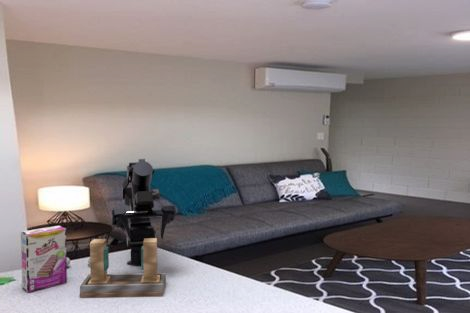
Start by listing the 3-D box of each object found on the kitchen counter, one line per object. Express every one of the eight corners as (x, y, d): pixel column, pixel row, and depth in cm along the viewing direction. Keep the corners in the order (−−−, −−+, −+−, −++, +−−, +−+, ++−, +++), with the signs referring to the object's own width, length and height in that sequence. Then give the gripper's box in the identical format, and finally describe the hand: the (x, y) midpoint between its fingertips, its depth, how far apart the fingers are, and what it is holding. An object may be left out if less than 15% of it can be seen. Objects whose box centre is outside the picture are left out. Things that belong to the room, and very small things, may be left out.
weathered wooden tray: (79, 297, 116) (78, 246, 115) (89, 283, 126) (88, 236, 125) (162, 296, 117) (162, 245, 116) (166, 282, 127) (165, 235, 126)
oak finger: (160, 281, 125) (159, 237, 124) (159, 288, 120) (158, 242, 119) (142, 282, 124) (141, 238, 123) (140, 289, 119) (140, 243, 118)
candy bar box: (28, 293, 118) (25, 234, 117) (21, 288, 122) (19, 231, 120) (68, 282, 126) (66, 227, 125) (61, 278, 130) (59, 224, 128)
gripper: (111, 181, 127) (114, 227, 118) (174, 178, 133) (181, 222, 124) (110, 202, 136) (113, 247, 126) (170, 199, 141) (176, 241, 132)
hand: (146, 239), depth 127 cm, fingers open, 9 cm apart
